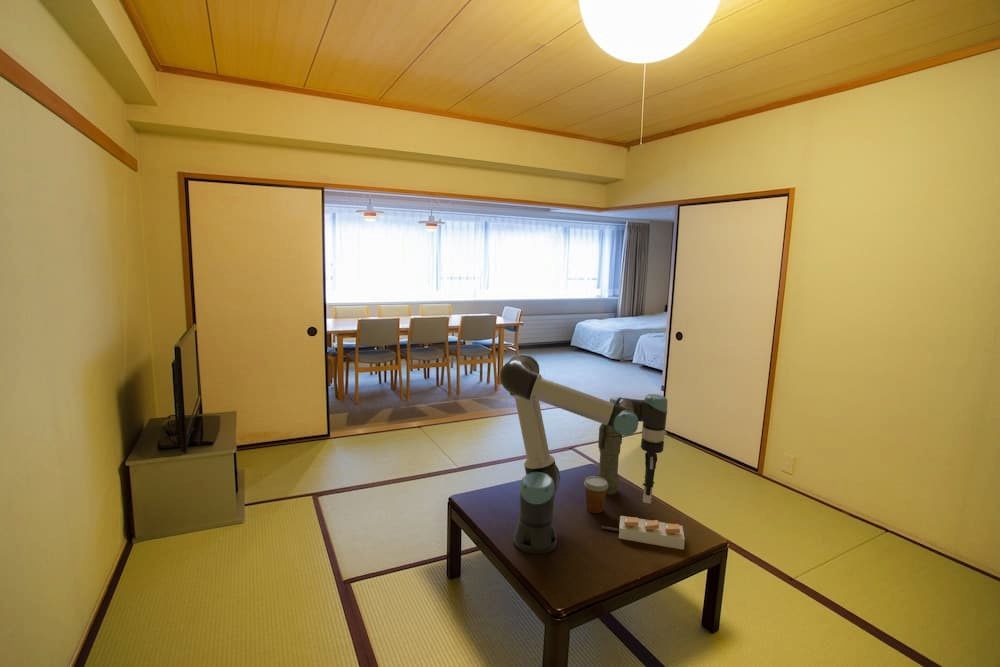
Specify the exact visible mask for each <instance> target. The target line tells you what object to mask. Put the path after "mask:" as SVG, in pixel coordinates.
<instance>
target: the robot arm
mask: <svg viewBox="0 0 1000 667" xmlns="http://www.w3.org/2000/svg"><path fill="white" fill-rule="evenodd" d="M499 380H500V383H501V386H502V387H503V388H504V389H505V390H506V391H507V392H508V393H509V395H510V396H511V397H513V398H514V400H515V406H516V410H517V411H516V412H517V415H518V421H519V425H520V429H521V430H520V431H521V435H522V440H523V446H524V449H525V450H524V451H525V455H526V460H525V461H524V463H523V466H524V471H525V475H524V476H523V477H522V478H521V481H520V486H519V519H518V522H517V525H516V527H515V530H514V533H513V543H514V545H515V546H516V548H517V549H519V550H520V551H521V552H524V553H527V554H532V555H545V554H547V553H550V552H552V551H553V550H555V548H556V546H557V541H558V538H557V532H556V529H555V525H554V522H553V520H554V518H553V517H554V503H555V497H556V494H557V490H558V488H559V485H560V481H561V473H560V470H559V467H558V466H557V464H556V461H555V460H556V459H555V458H554V456H553V455H550V451H549V446H548V445H549V444H548V440H547V434H546V430H545V425H544V421H543V419H544V418H543V415H542V409H541V405H540V402H542V403H545V404H546V405H549V406H553V407H555V408H558V409H561V410H563V411H567V412H569V413H572V414H574V415H578V416H580V417H584V418H586V419H587V420H591V421H594V422H597V423H600V424H604V425H607V426H610V427H612V428H615V430H616V431H617V432H618V433H619V434H621V435H622V436H624V437H625V436H626V437H628V436H632V435H634V434H635V433H636V432H637V430H638V427H639V422H642V428H641V441H640V448H641V450H643V451H644V455H645V456H644V458H645V459H644V460H645V461H644V462H645V473H644V482H643V483H642V486H643V496H642V502H643V503H645V504H649V505H651V504H652V499H653V498H652V497H653V496H652V495H653V488H654V485H655V481H654V478H655V472H656V471H655V470H656V468H657V462H658V454H661V453H662V452H664V446H665V441H664V440H665V435H667V433H668V432H667V431H666V426H667V414H668V399H667V397H665V396H664V395H662V394H654V393H653V394H652V393H651V394H649V393H648V394H646V395H645V397H644V399H637V398H636V399H635V398H627V397H622V396H619V397H617V396H616V397H615V396H614V397H611V398H610V399H609V401H608V400H605V399H602V398H600V397H597V396H594V395H591V394H588V393H586V392H582V391H580V390H577V389H574V388H571V387H569V386H566V385H562V384H560V383H558V382H554V381H552V380H549V379H546V378H543V377H542V374H541V373H540V365H539V363H538V361H537V360H536V359H535V357H533V356H531V355H529V354H526V353H525V354H524V353H521V354H517V355H515V356H512V357H511V358H510V360H508V362H506V363H505V364H504V365H503V366H502V368H501V370H500V373H499Z"/></svg>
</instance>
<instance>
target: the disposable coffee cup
mask: <svg viewBox="0 0 1000 667" xmlns="http://www.w3.org/2000/svg"><path fill="white" fill-rule="evenodd" d="M583 485H584V487H585V489H584V490H585V499H586V500H585V502H586V510H587V512H590V513H592V514H593V513H594V514H600V513H602V512H603V511H604V505H605V500H606V496H607V494H606V491H607V488H608V483H607V481H606V480H605V479H603V478H601V477H598V476H593V475H591V476H588V477H586V478H585V481H584V482H583Z"/></svg>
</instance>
